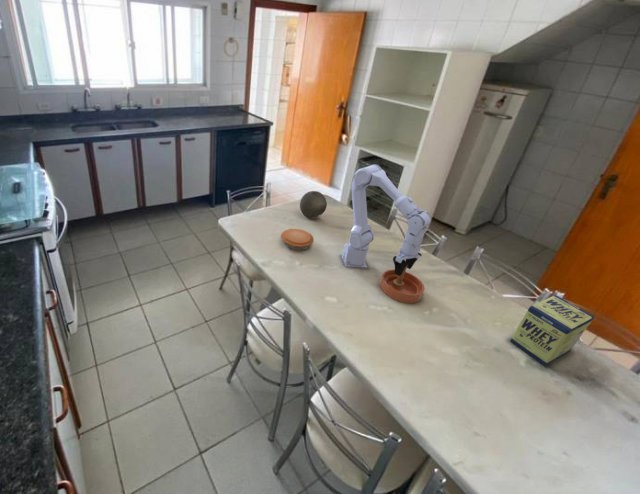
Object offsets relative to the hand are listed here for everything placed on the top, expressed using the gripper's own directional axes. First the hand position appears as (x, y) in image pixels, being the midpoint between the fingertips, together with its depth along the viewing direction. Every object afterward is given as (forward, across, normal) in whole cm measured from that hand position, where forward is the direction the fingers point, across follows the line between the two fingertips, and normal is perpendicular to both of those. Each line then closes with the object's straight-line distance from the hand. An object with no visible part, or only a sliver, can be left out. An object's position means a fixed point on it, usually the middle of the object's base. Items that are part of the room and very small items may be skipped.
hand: (402, 270), depth 128 cm
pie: (+8, -12, +45) cm, 47 cm away
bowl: (+8, -2, -2) cm, 8 cm away
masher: (+7, 0, 0) cm, 7 cm away
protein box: (+8, +12, -43) cm, 46 cm away
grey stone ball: (+8, +14, +59) cm, 61 cm away
